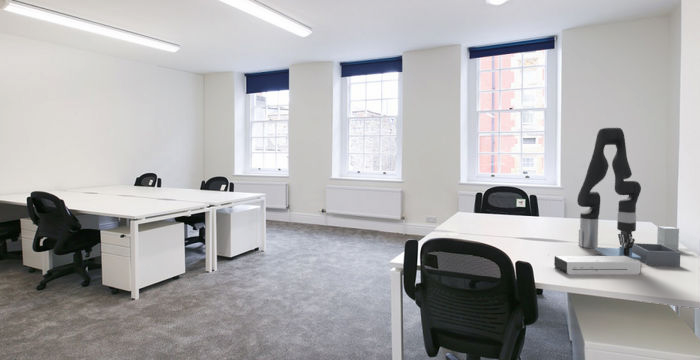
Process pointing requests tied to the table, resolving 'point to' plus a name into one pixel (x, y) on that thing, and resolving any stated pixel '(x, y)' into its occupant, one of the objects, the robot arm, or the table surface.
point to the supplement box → (668, 237)
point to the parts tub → (656, 254)
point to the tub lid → (616, 252)
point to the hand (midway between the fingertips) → (625, 255)
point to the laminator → (597, 264)
